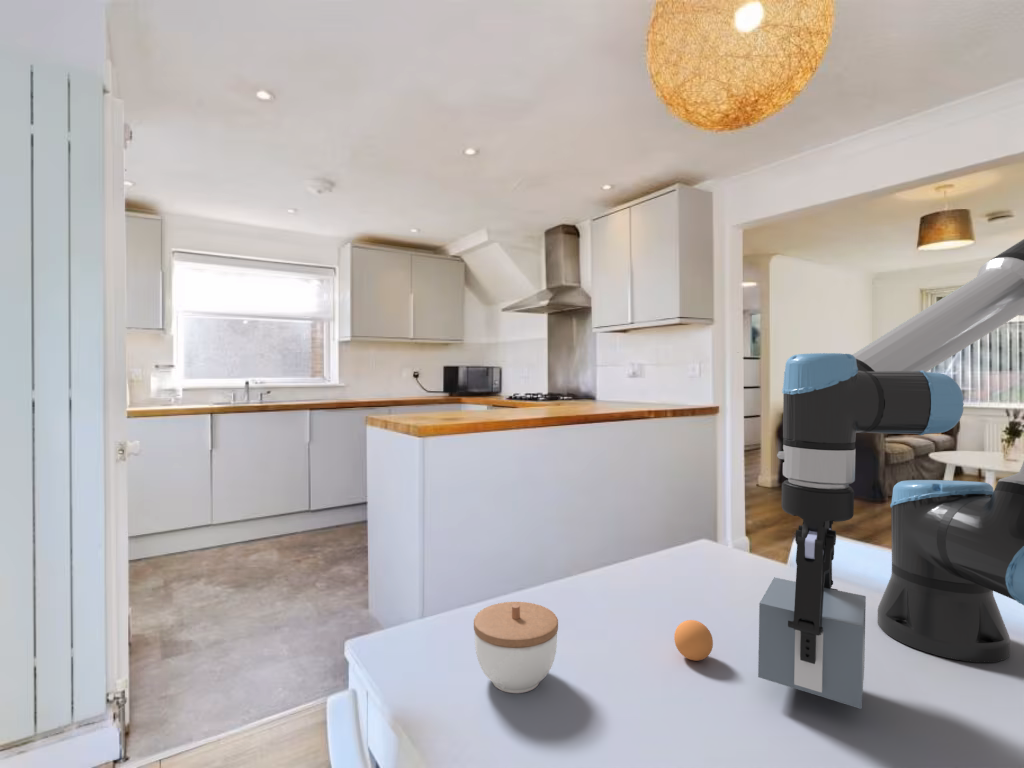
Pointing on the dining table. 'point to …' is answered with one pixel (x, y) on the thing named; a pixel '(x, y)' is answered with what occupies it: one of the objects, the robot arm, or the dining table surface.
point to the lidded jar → (515, 644)
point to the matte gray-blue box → (839, 641)
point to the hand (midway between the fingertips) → (813, 665)
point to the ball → (693, 640)
